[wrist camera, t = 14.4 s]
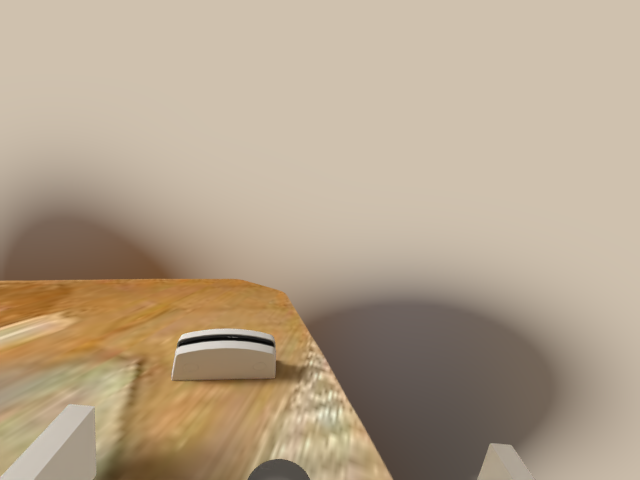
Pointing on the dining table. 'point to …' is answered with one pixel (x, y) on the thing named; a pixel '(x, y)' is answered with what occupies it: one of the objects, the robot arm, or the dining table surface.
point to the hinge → (224, 355)
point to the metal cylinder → (278, 471)
